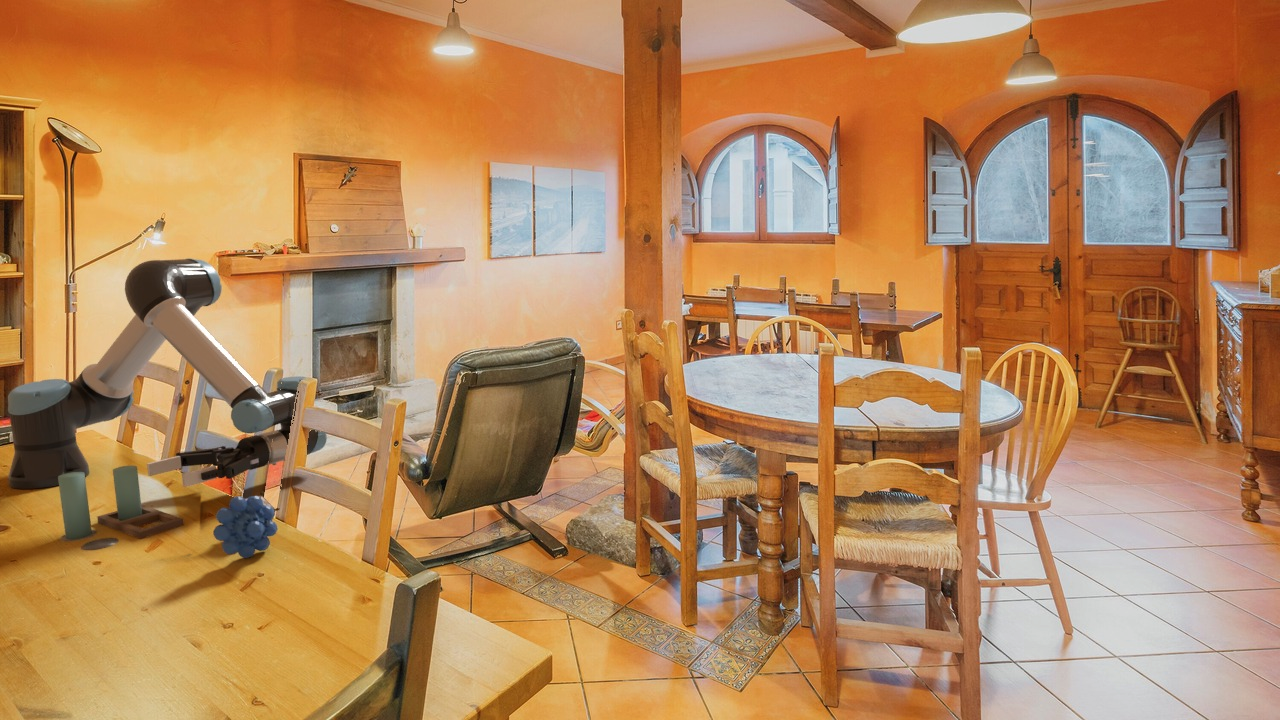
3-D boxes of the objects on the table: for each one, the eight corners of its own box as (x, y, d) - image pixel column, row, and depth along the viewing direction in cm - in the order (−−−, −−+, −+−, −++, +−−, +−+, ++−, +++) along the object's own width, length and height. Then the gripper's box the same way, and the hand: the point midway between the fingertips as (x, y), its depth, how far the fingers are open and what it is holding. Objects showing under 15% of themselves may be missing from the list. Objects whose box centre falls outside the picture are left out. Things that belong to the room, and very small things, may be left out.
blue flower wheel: (232, 575, 127) (225, 509, 125) (209, 566, 130) (203, 502, 128) (292, 550, 137) (287, 489, 135) (270, 543, 140) (265, 483, 138)
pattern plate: (51, 542, 141) (50, 536, 140) (98, 528, 147) (97, 522, 147) (93, 560, 133) (92, 554, 132) (140, 544, 139) (140, 538, 139)
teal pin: (120, 524, 150) (113, 467, 148) (143, 520, 152) (137, 464, 150) (118, 530, 146) (111, 472, 144) (142, 527, 148) (136, 469, 146)
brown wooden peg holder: (98, 528, 147) (97, 516, 147) (141, 515, 154) (140, 504, 154) (140, 544, 139) (139, 532, 139) (184, 530, 146) (183, 518, 146)
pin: (67, 533, 142) (59, 473, 140) (93, 529, 144) (85, 470, 142) (64, 540, 138) (56, 479, 136) (90, 536, 140) (82, 476, 138)
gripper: (296, 474, 166) (200, 502, 148) (231, 457, 179) (136, 482, 160) (293, 442, 165) (197, 467, 147) (228, 427, 177) (132, 449, 159)
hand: (165, 475), depth 154 cm, fingers open, 13 cm apart
